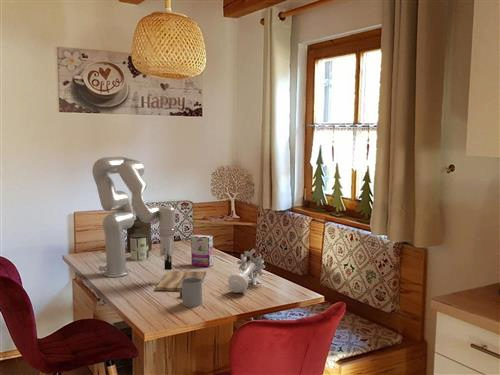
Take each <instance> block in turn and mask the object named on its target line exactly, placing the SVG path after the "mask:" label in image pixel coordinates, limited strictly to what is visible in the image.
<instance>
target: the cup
mask: <svg viewBox="0 0 500 375" xmlns="http://www.w3.org/2000/svg"><path fill="white" fill-rule="evenodd" d="M181 299H182V300H181V301H182V305H183V306H184V307H187V308H188V307H189V308H191V307H192V308H194V307H199V306H202V304H203V282H202V279H200V278H186V279H183V280H182V297H181Z"/></svg>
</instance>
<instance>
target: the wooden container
mask: <svg viewBox="0 0 500 375" xmlns="http://www.w3.org/2000/svg"><path fill="white" fill-rule="evenodd" d="M137 233H145V234H148V250H149V252H150V250H151V249H152V222H149V223H145V222H142V221H141V220H140V219H139V218H138V216H137V215H136V216H135V219H134V224H133V226H132V227H130V228H128V229H126V250H127V252H128V251H129V252H128V253H131V245H130V235H132V234H137ZM152 250H153V249H152ZM152 250H151V251H152Z"/></svg>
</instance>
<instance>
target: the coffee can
mask: <svg viewBox="0 0 500 375" xmlns="http://www.w3.org/2000/svg"><path fill="white" fill-rule="evenodd" d="M130 245H131V252H130V261H132V260H133V262H143V261H148V260H149V259H150V257H149V256H150V255H149V254H150V253H149V252H150V251H149V250H148V234H145V233H137V234H132V235H130Z"/></svg>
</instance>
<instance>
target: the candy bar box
mask: <svg viewBox="0 0 500 375" xmlns="http://www.w3.org/2000/svg"><path fill="white" fill-rule="evenodd" d="M213 238H214V236H213V235H203V234H194V235H190V250H191V255H190V256H191V266H194V267H204V268H206V267H207V268H210V267H213V266H214V243H213V242H214V239H213Z"/></svg>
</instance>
